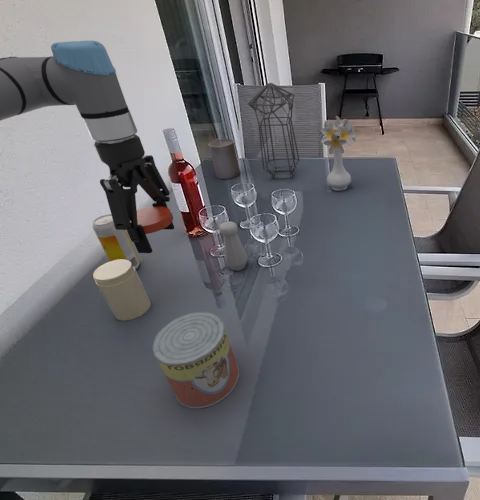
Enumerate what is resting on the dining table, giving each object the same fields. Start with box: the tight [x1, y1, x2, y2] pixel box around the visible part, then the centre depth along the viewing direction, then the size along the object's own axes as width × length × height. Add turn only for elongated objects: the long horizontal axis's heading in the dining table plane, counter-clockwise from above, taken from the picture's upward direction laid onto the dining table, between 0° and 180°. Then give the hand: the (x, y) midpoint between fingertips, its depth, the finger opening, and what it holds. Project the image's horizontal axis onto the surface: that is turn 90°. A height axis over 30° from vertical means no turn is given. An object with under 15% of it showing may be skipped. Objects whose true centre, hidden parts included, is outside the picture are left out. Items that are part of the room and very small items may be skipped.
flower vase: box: [319, 115, 357, 192], centre depth 125 cm, size 13×18×25 cm
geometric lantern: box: [247, 82, 300, 180], centre depth 135 cm, size 16×16×35 cm
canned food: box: [151, 311, 240, 410], centre depth 61 cm, size 11×11×12 cm
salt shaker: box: [219, 221, 249, 272], centre depth 90 cm, size 6×6×13 cm
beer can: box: [92, 213, 140, 270], centre depth 90 cm, size 6×6×15 cm
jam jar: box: [92, 259, 152, 322], centre depth 77 cm, size 8×8×12 cm
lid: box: [130, 206, 174, 235], centre depth 75 cm, size 9×9×2 cm
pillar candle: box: [207, 138, 241, 180], centre depth 142 cm, size 10×10×15 cm
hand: (157, 239), depth 77 cm, fingers closed on lid, 9 cm apart
